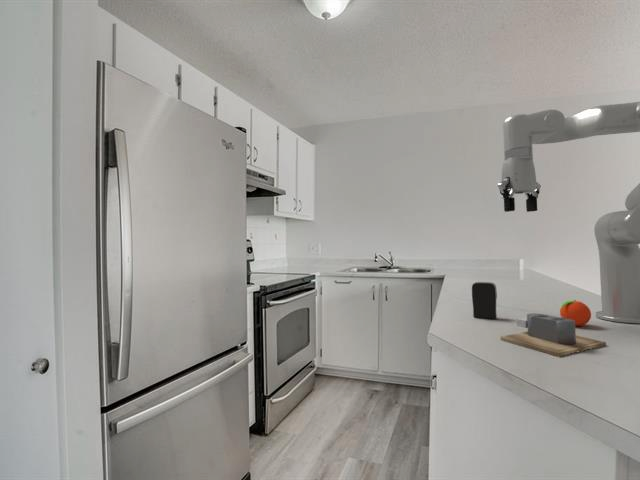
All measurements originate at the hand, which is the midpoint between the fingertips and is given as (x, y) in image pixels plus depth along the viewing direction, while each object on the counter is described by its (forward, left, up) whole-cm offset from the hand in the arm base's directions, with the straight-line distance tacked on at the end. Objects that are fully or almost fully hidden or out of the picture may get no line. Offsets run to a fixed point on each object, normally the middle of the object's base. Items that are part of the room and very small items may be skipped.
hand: (520, 211), depth 103 cm
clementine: (-3, +12, -34) cm, 36 cm away
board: (+17, +19, -33) cm, 42 cm away
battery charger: (+9, -7, -34) cm, 35 cm away
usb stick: (+17, +18, -32) cm, 41 cm away
